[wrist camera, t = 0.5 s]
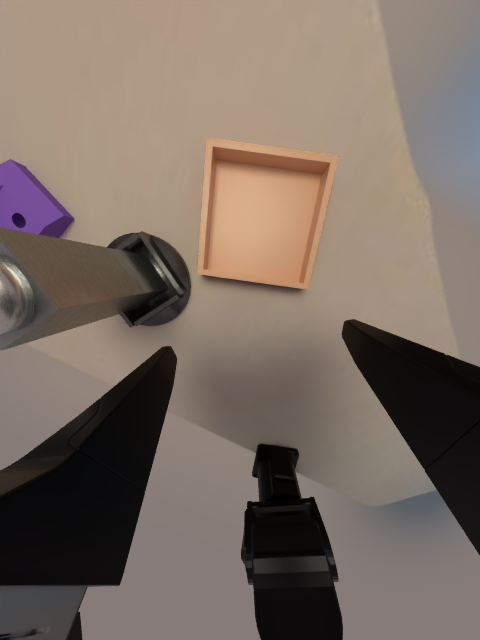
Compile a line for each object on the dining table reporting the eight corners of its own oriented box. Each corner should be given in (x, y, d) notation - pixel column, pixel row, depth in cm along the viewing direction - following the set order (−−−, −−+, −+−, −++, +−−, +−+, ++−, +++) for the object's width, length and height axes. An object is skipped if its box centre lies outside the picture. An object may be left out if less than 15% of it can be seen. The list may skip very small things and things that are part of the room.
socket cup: (207, 296, 22) (202, 299, 20) (141, 338, 24) (130, 345, 22) (154, 214, 20) (142, 206, 18) (85, 266, 22) (66, 265, 20)
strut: (169, 288, 21) (34, 312, 8) (141, 307, 22) (-27, 359, 9) (146, 255, 20) (-50, 217, 7) (117, 275, 21) (-111, 278, 8)
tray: (301, 287, 22) (307, 289, 19) (202, 274, 22) (197, 274, 19) (326, 171, 18) (338, 155, 16) (212, 155, 18) (206, 137, 16)
